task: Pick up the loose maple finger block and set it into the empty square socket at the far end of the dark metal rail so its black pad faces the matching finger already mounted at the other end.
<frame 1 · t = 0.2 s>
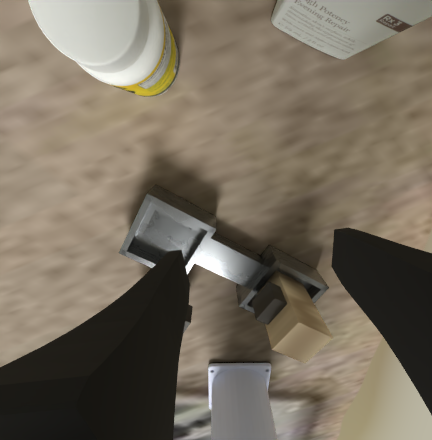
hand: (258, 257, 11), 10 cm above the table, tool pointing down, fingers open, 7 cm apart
supplement bottle: (147, 60, 16), on the table
skincare box: (323, 7, 15), on the table
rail: (226, 254, 22), on the table
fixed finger: (279, 288, 22), resting on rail
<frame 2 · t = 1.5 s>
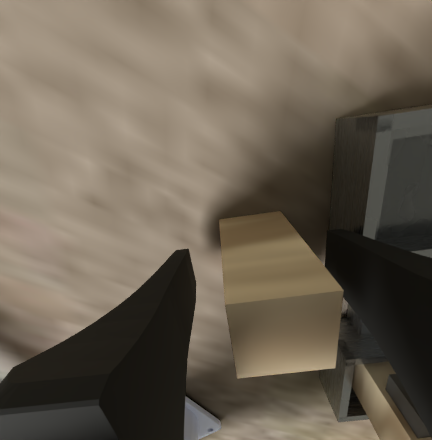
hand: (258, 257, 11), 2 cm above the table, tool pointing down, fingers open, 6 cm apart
free finger: (251, 242, 12), on the table
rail: (376, 276, 13), on the table
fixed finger: (379, 368, 14), resting on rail
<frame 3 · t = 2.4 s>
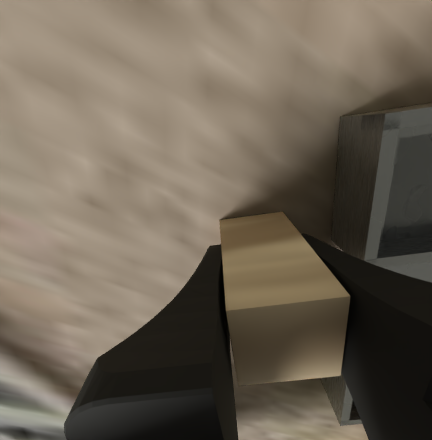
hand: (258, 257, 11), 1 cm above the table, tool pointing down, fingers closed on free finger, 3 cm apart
free finger: (253, 243, 12), on the table, touching gripper
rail: (380, 278, 13), on the table
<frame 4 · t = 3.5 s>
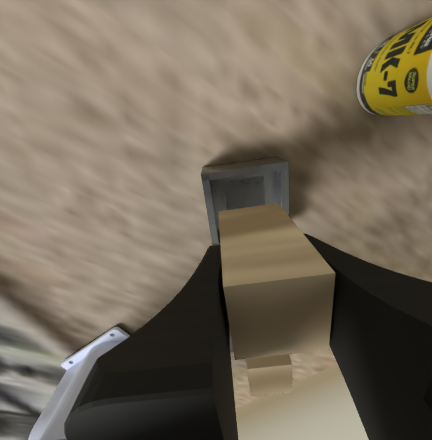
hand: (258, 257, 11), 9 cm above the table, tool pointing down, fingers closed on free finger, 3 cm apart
supplement bottle: (385, 79, 16), on the table
free finger: (250, 233, 12), point 7 cm above the table, touching gripper
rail: (248, 257, 21), on the table
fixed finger: (255, 317, 22), resting on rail
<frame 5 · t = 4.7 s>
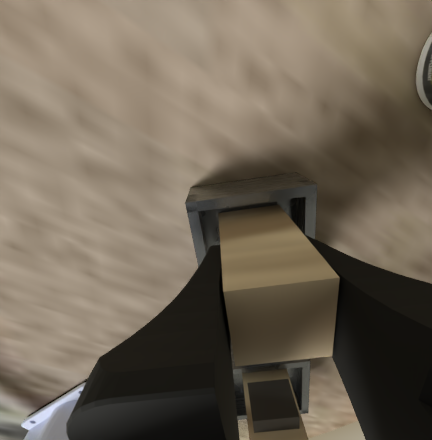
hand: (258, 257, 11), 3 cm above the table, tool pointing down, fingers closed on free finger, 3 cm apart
free finger: (250, 235, 12), point 1 cm above the table, touching gripper, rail
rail: (254, 301, 16), on the table
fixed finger: (263, 375, 17), resting on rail
when the fingers open (3 cm above the table, at t = 4.9 s): free finger stays where it is, resting on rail.
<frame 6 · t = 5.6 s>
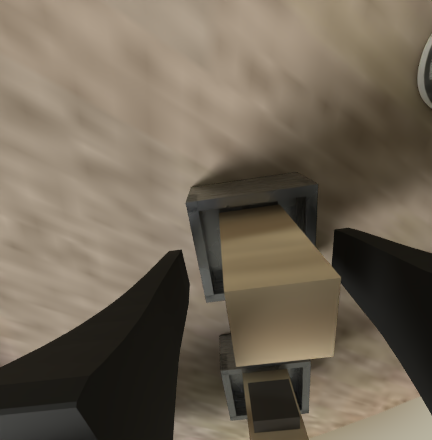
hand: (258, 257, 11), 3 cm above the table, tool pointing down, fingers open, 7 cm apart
free finger: (251, 235, 12), point 1 cm above the table, touching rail
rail: (254, 301, 16), on the table
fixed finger: (263, 376, 17), resting on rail
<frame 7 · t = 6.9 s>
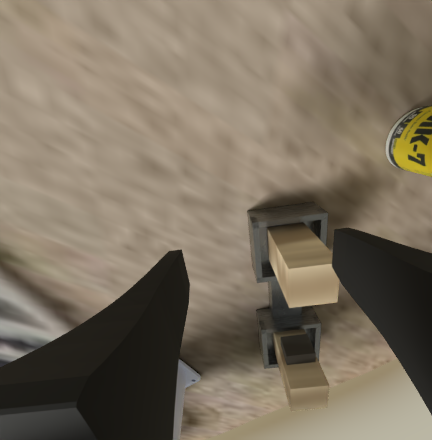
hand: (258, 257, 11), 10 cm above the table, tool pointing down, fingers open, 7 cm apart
supplement bottle: (410, 139, 18), on the table
free finger: (285, 241, 20), point 1 cm above the table, touching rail
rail: (282, 285, 24), on the table
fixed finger: (287, 337, 25), resting on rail
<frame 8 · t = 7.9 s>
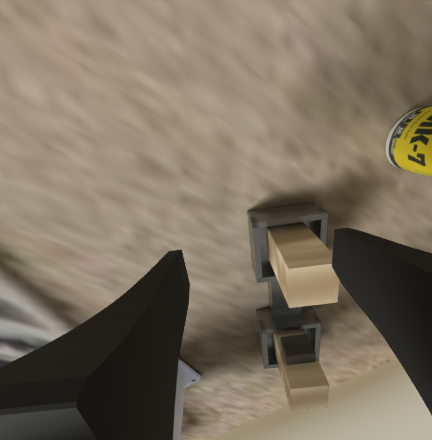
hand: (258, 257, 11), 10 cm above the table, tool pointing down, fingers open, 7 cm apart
supplement bottle: (410, 139, 18), on the table
free finger: (285, 241, 20), point 1 cm above the table, touching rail
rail: (282, 285, 24), on the table
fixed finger: (287, 337, 25), resting on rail
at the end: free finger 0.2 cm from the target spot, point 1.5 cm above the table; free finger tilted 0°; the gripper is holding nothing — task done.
